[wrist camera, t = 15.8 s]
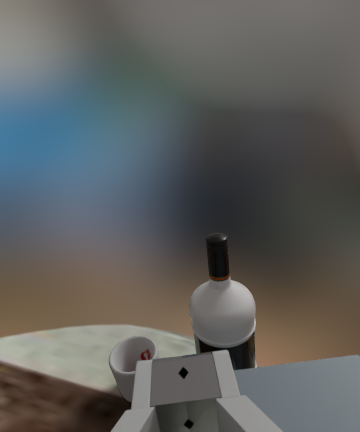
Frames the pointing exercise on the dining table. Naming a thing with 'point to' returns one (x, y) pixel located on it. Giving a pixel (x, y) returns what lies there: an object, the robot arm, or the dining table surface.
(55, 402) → the dining table surface
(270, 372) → the console
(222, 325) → the vodka
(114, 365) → the cup
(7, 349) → the dining table surface
